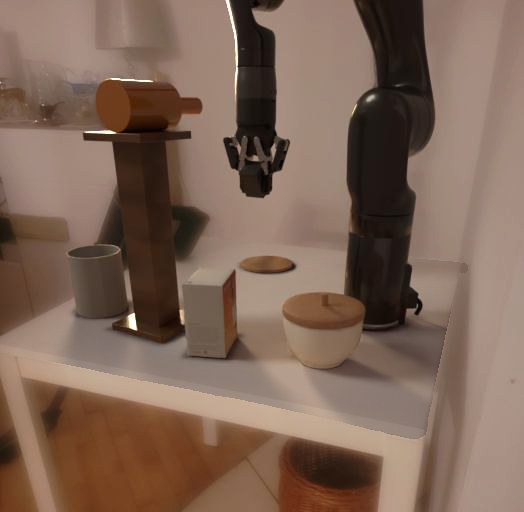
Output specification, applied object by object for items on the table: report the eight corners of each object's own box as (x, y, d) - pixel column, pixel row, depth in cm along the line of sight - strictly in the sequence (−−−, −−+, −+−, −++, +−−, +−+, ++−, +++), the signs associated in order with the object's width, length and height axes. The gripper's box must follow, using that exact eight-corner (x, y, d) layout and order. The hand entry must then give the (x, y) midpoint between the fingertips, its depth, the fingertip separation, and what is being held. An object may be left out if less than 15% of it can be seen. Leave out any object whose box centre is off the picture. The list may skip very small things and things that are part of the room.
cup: (86, 300, 87) (76, 244, 83) (132, 299, 87) (125, 244, 83) (70, 318, 80) (58, 258, 75) (120, 318, 80) (112, 258, 75)
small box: (225, 359, 67) (222, 286, 62) (186, 356, 68) (180, 283, 63) (238, 335, 74) (236, 267, 69) (202, 332, 75) (198, 265, 70)
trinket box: (366, 378, 62) (373, 309, 58) (282, 377, 62) (283, 308, 58) (354, 341, 72) (359, 280, 67) (281, 341, 72) (281, 280, 68)
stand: (155, 308, 84) (136, 129, 71) (202, 320, 79) (191, 130, 67) (112, 329, 76) (82, 132, 63) (161, 343, 71) (139, 134, 59)
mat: (288, 257, 112) (288, 254, 111) (296, 271, 102) (296, 269, 102) (240, 259, 111) (239, 256, 110) (243, 273, 101) (243, 271, 101)
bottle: (182, 127, 76) (179, 84, 74) (213, 128, 74) (211, 83, 71) (99, 132, 63) (91, 79, 61) (133, 133, 61) (127, 78, 58)
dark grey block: (247, 160, 95) (238, 173, 93) (265, 161, 93) (256, 174, 92) (254, 184, 99) (246, 196, 98) (272, 185, 98) (263, 198, 96)
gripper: (211, 96, 89) (215, 193, 97) (280, 95, 83) (278, 200, 91) (234, 96, 95) (235, 188, 103) (299, 96, 89) (296, 194, 97)
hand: (256, 193), depth 97 cm, fingers closed on dark grey block, 4 cm apart
